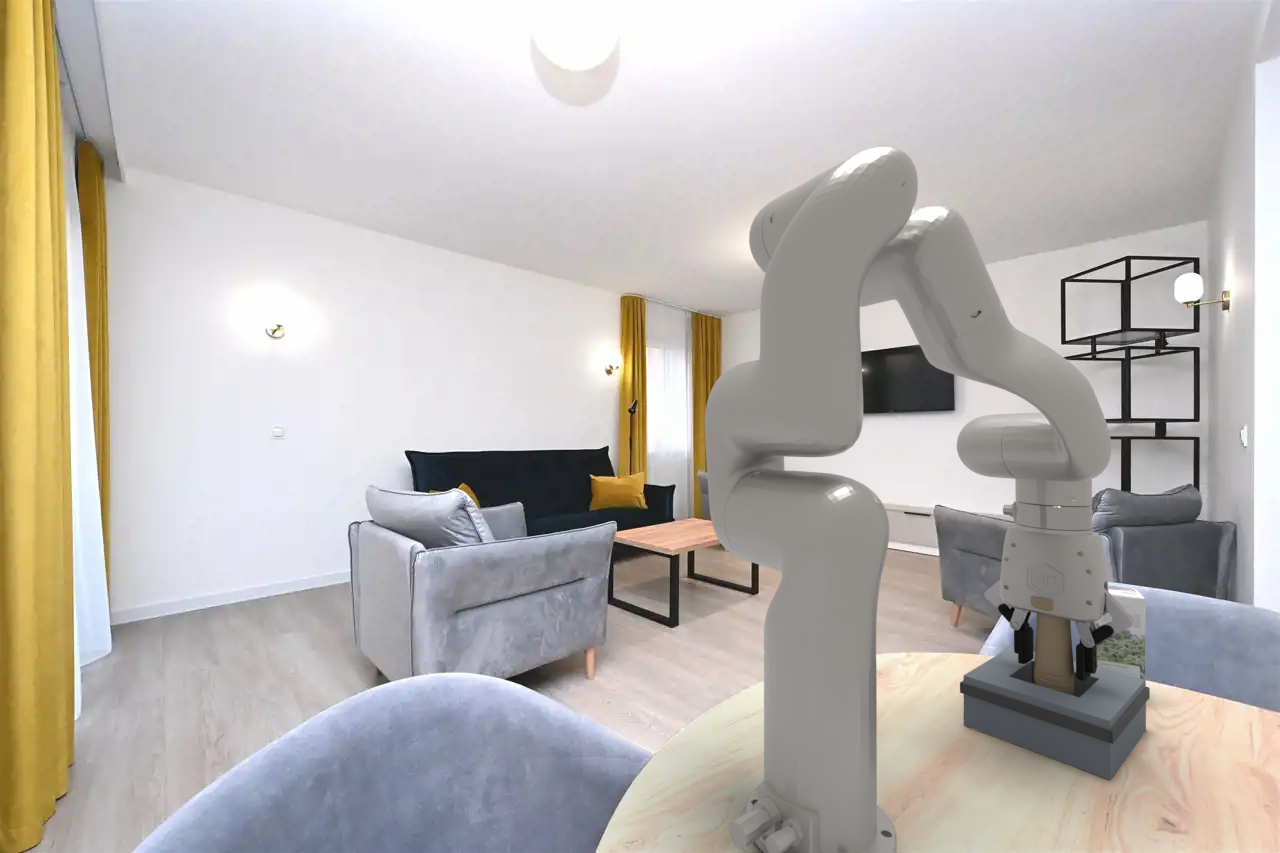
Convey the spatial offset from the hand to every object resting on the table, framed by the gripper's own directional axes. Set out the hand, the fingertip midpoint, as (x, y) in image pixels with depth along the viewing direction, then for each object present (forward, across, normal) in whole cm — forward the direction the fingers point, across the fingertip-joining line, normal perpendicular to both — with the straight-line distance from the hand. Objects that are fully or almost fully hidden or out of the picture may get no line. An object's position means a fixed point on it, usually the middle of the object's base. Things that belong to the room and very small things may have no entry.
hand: (1053, 667), depth 68 cm
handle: (+6, 0, 0) cm, 6 cm away
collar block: (+7, 0, 0) cm, 7 cm away
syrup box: (+7, +2, +17) cm, 19 cm away
